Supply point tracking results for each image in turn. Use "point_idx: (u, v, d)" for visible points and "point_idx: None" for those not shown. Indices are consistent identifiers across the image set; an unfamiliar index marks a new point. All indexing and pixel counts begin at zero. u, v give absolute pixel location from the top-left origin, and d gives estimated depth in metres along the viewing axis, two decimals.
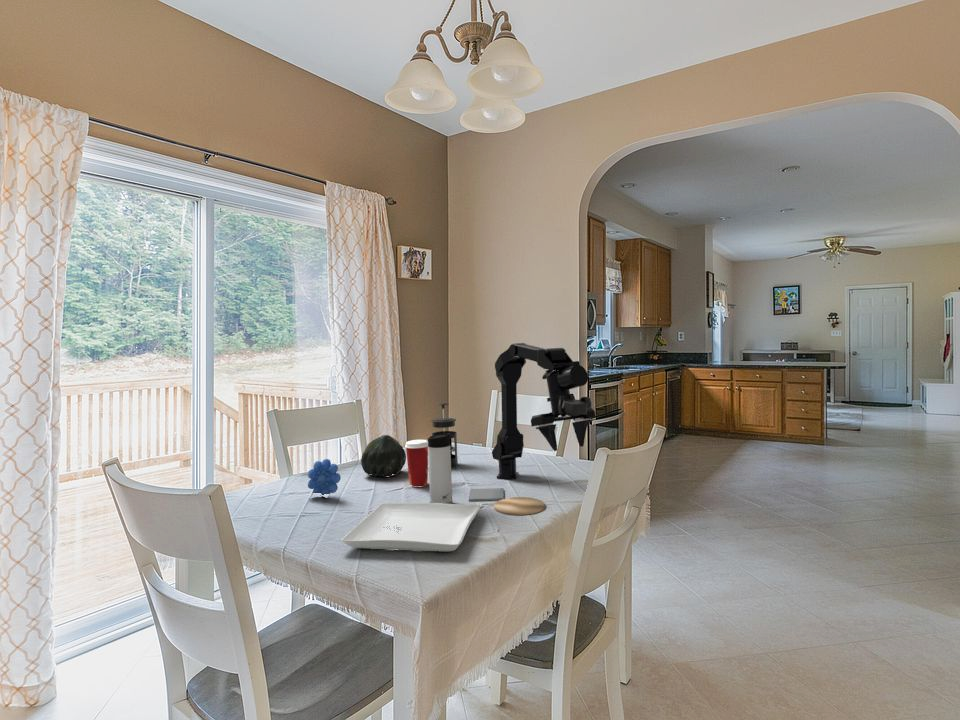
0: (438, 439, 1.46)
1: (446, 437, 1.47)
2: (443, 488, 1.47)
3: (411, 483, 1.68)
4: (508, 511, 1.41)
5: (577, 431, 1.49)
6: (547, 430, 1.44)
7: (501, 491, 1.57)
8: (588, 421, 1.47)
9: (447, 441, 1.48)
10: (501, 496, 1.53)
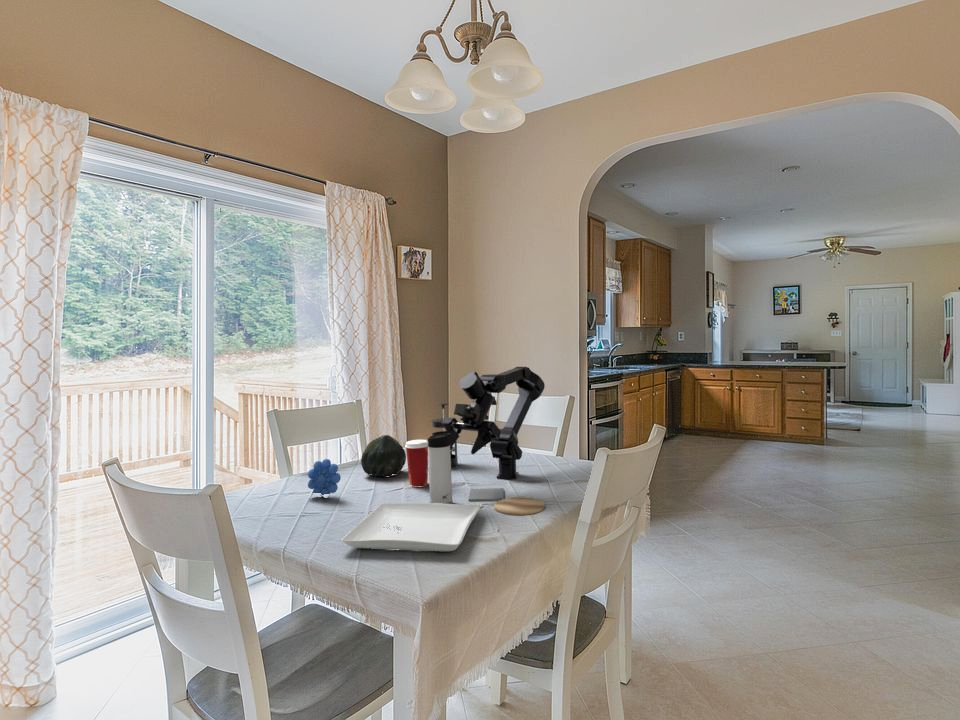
0: (438, 439, 1.46)
1: (446, 437, 1.47)
2: (443, 488, 1.47)
3: (411, 483, 1.68)
4: (508, 511, 1.41)
5: None
6: None
7: (501, 491, 1.57)
8: (481, 430, 1.54)
9: (447, 441, 1.48)
10: (501, 496, 1.53)
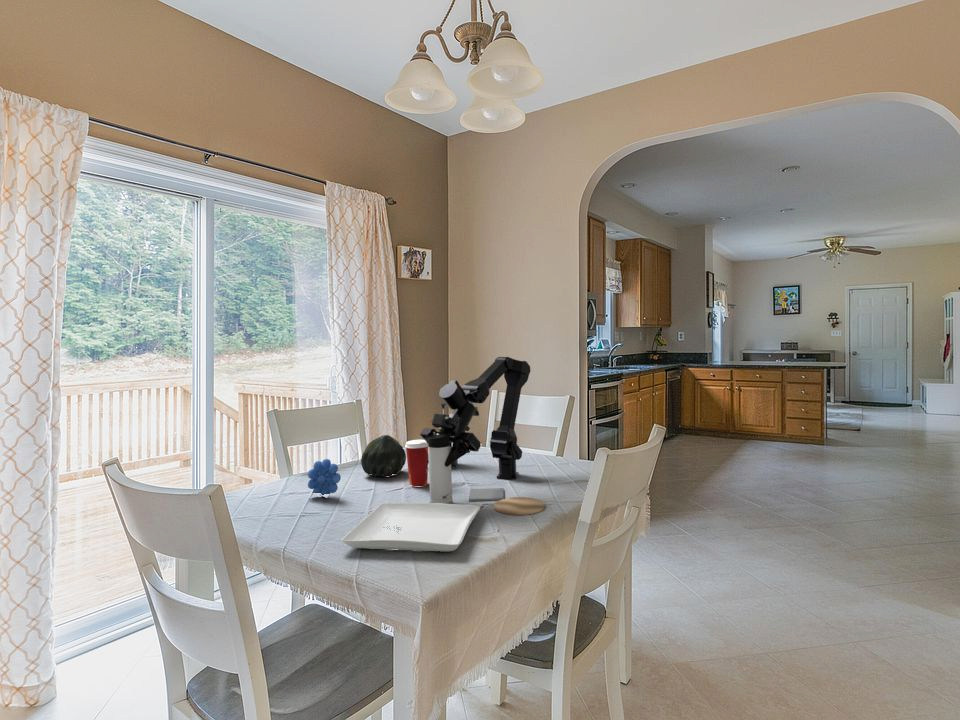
0: (438, 439, 1.46)
1: (446, 437, 1.47)
2: (443, 488, 1.47)
3: (411, 483, 1.68)
4: (508, 511, 1.41)
5: None
6: None
7: (501, 491, 1.57)
8: (455, 441, 1.47)
9: (447, 441, 1.47)
10: (501, 496, 1.53)
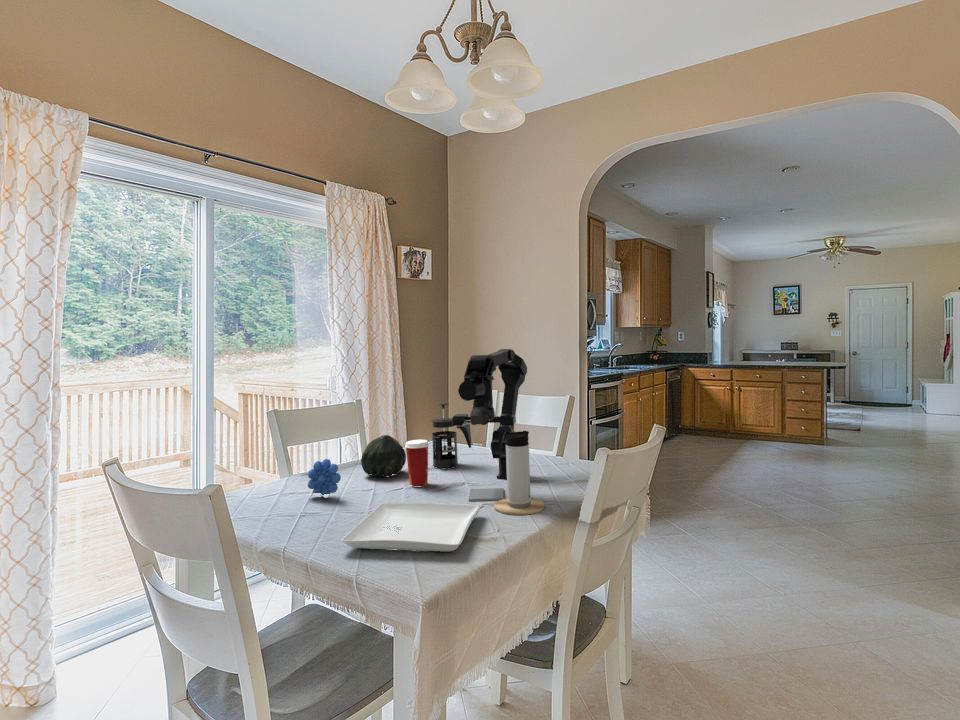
0: (525, 437, 1.42)
1: None
2: (528, 487, 1.44)
3: (411, 483, 1.68)
4: (508, 511, 1.41)
5: None
6: None
7: (501, 491, 1.57)
8: (503, 428, 1.57)
9: None
10: (501, 496, 1.53)
